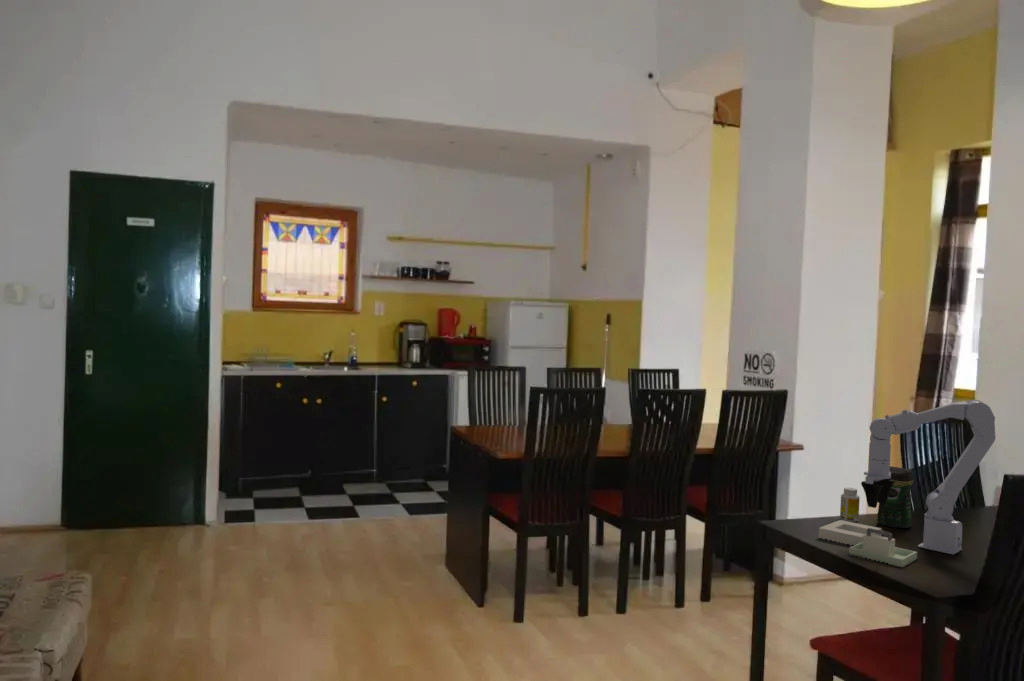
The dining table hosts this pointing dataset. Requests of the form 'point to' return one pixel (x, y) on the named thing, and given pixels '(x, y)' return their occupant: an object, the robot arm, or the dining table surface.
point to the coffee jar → (897, 500)
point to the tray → (899, 558)
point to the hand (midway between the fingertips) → (877, 505)
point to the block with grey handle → (879, 542)
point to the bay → (845, 532)
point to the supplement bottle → (849, 505)
